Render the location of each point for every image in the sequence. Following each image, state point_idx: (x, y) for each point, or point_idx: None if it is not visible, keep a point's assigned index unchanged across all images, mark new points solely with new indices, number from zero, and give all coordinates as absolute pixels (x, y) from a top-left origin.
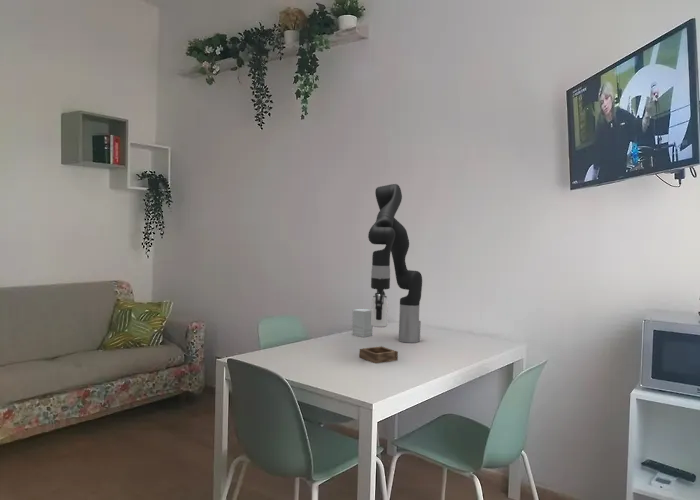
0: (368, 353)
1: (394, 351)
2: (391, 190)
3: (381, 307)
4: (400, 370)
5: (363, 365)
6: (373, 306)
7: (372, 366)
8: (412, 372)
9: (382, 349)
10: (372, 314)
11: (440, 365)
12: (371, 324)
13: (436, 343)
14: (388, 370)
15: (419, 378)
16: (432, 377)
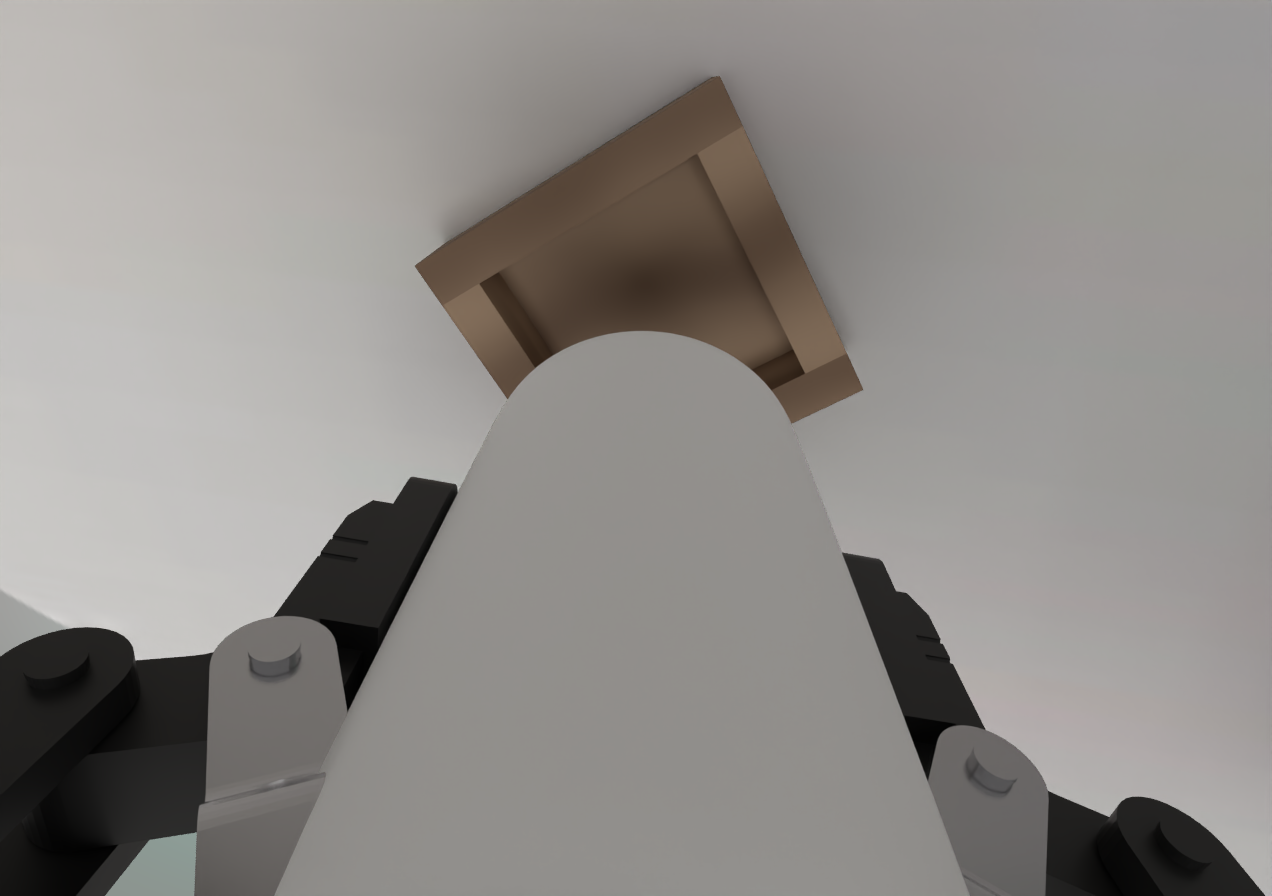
0: (537, 188)
1: None
2: None
3: (20, 835)
4: (229, 443)
5: (326, 98)
6: (432, 636)
7: (307, 200)
8: (195, 521)
9: (769, 382)
10: (537, 450)
11: None
12: (613, 336)
13: (1219, 840)
14: (195, 342)
15: (30, 539)
16: (99, 622)
